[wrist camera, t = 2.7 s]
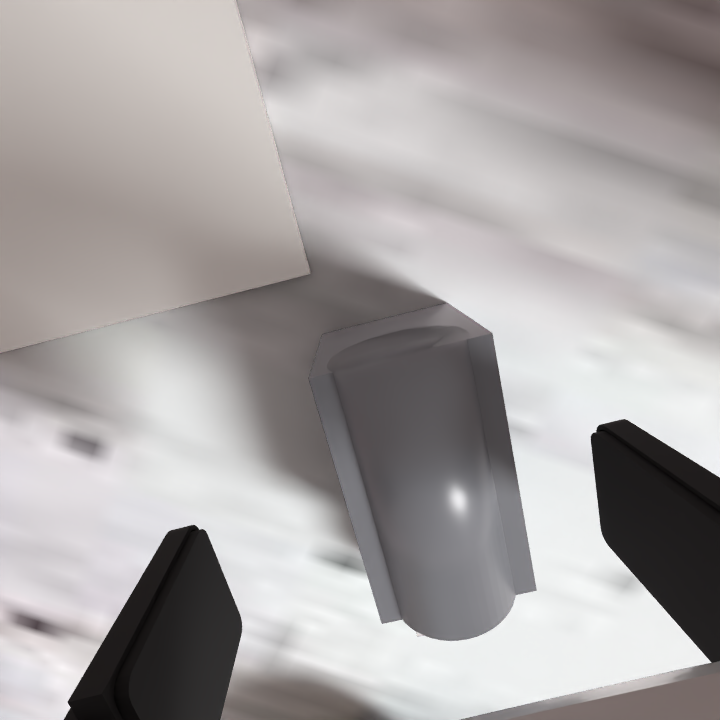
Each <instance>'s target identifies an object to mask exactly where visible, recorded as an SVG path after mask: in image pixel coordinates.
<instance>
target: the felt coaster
mask: <svg viewBox="0 0 720 720" xmlns="http://www.w3.org/2000/svg"><path fill="white" fill-rule="evenodd" d="M310 273H311V272H310V268H309V264H308V261H307V257H306V253H305V250H304V246H303V242H302V239H301V235H300V231H299V228H298V224H297V221H296V217H295V213H294V210H293V206H292V202H291V199H290V195H289V191H288V188H287V184H286V180H285V177H284V173H283V170H282V166H281V162H280V159H279V155H278V151H277V148H276V144H275V140H274V137H273V133H272V129H271V126H270V122H269V118H268V115H267V111H266V108H265V104H264V100H263V97H262V93H261V89H260V86H259V82H258V78H257V75H256V71H255V67H254V64H253V60H252V57H251V53H250V49H249V46H248V42H247V38H246V35H245V31H244V27H243V24H242V20H241V16H240V13H239V9H238V5H237V2H236V0H0V353H3V352H7V351H11V350H15V349H19V348H23V347H26V346H30V345H34V344H38V343H42V342H46V341H50V340H54V339H58V338H62V337H66V336H70V335H73V334H77V333H81V332H85V331H89V330H93V329H97V328H101V327H105V326H109V325H113V324H117V323H121V322H124V321H128V320H132V319H136V318H140V317H144V316H148V315H152V314H156V313H160V312H164V311H168V310H171V309H175V308H179V307H183V306H187V305H191V304H195V303H199V302H203V301H207V300H211V299H215V298H219V297H222V296H226V295H230V294H234V293H238V292H242V291H246V290H250V289H254V288H258V287H262V286H266V285H269V284H273V283H277V282H281V281H285V280H289V279H293V278H297V277H301V276H305V275H309V274H310Z"/></svg>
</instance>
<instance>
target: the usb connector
mask: <svg viewBox="0 0 720 720" xmlns="http://www.w3.org/2000/svg"><path fill="white" fill-rule="evenodd" d="M309 382H310V385H311V388H312V392H313V395H314V398H315V402H316V405H317V408H318V412H319V415H320V418H321V422H322V425H323V428H324V432H325V435H326V439H327V442H328V445H329V449H330V452H331V455H332V459H333V462H334V465H335V469H336V472H337V475H338V479H339V482H340V485H341V489H342V492H343V495H344V499H345V502H346V505H347V509H348V512H349V515H350V519H351V522H352V526H353V529H354V532H355V536H356V539H357V542H358V546H359V549H360V552H361V556H362V559H363V562H364V566H365V569H366V572H367V576H368V579H369V582H370V586H371V589H372V592H373V596H374V599H375V602H376V606H377V609H378V613H379V616H380V619H381V623H382V624H383V623H388V622H393V621H397V620H403V621H404V622H405V623H406V624H407V625H408V626H409V627H410V628H412V629H413V630H415V631H416V634H417V637H419V636H427V637H430V638H434V639H438V640H447V641H458V640H465V639H470V638H474V637H477V636H479V635H482V634H484V633H486V632H488V631H490V630H491V629H493V628H494V627H496V626H497V625H498V624H499V623H500V622H501V621H502V620H503V619H504V618H505V617H506V616H507V614H508V613H509V612H510V610H511V608H512V606H513V603H514V600H515V595H518V594H523V593H527V592H532V591H537V590H536V584H535V579H534V573H533V567H532V561H531V555H530V550H529V544H528V538H527V532H526V526H525V521H524V515H523V509H522V503H521V497H520V491H519V486H518V480H517V474H516V468H515V462H514V457H513V451H512V445H511V439H510V433H509V428H508V422H507V416H506V410H505V404H504V398H503V393H502V387H501V381H500V375H499V369H498V364H497V358H496V352H495V346H494V340H493V335H492V333H491V332H490V331H488V330H487V329H485V328H484V327H483V326H481V325H480V324H478V323H477V322H475V321H474V320H472V319H471V318H469V317H468V316H466V315H465V314H463V313H462V312H460V311H459V310H457V309H456V308H454V307H453V306H451V305H450V304H448V303H444V304H440V305H436V306H432V307H428V308H424V309H420V310H416V311H412V312H408V313H404V314H400V315H396V316H392V317H388V318H384V319H380V320H376V321H373V322H369V323H365V324H361V325H357V326H353V327H349V328H345V329H341V330H337V331H333V332H329V333H325V334H322V337H321V340H320V343H319V346H318V350H317V353H316V356H315V359H314V362H313V366H312V369H311V372H310V375H309Z"/></svg>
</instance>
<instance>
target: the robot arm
mask: <svg viewBox="0 0 720 720" xmlns="http://www.w3.org/2000/svg"><path fill="white" fill-rule="evenodd" d="M591 445H592V454H593V463H594V472H595V481H596V490H597V499H598V508H599V516H600V525H601V532H602V535H603V537H604V539H605V541H606V543H607V544H608V546H609V547H610V548H611V549H612V550H613V551H614V553H615V554H616V555H617V556H618V557H619V558H620V559H621V560H622V562H623V563H624V564H625V565H626V566H627V567H628V568H629V570H630V571H631V572H632V573H633V574H634V575H635V576H636V577H637V579H638V580H639V581H640V582H641V583H642V584H643V585H644V587H645V588H646V589H647V590H648V591H649V592H650V593H651V594H652V596H653V597H654V598H655V599H656V600H657V601H658V602H659V603H660V605H661V606H662V607H663V608H664V609H665V610H666V611H667V613H668V614H669V615H670V616H671V617H672V618H673V619H674V620H675V622H676V623H677V624H678V625H679V626H680V627H681V628H682V630H683V631H684V632H685V633H686V634H687V635H688V636H689V637H690V639H691V640H692V641H693V642H694V643H695V644H696V645H697V647H698V648H699V649H700V650H701V651H702V652H703V653H704V654H705V656H706V657H707V658H708V659H709V660H710V661H711V662H712V663H709V664H704V665H699V666H694V667H689V668H685V669H680V670H676V671H671V672H667V673H662V674H658V675H653V676H649V677H645V678H640V679H636V680H631V681H627V682H622V683H618V684H614V685H609V686H605V687H600V688H596V689H591V690H587V691H583V692H578V693H574V694H569V695H565V696H561V697H556V698H552V699H547V700H543V701H538V702H534V703H530V704H525V705H521V706H517V707H513V708H508V709H504V710H500V711H495V712H491V713H487V714H482V715H478V716H474V717H469V718H465V719H461V720H720V478H719V477H718V476H716V475H715V474H713V473H711V472H710V471H708V470H707V469H705V468H703V467H702V466H700V465H699V464H697V463H695V462H694V461H692V460H690V459H689V458H687V457H686V456H684V455H682V454H681V453H679V452H678V451H676V450H674V449H673V448H671V447H670V446H668V445H666V444H665V443H663V442H662V441H660V440H658V439H657V438H655V437H654V436H652V435H650V434H649V433H647V432H645V431H644V430H642V429H641V428H639V427H637V426H636V425H634V424H633V423H631V422H629V421H628V420H625V419H623V420H618V421H614V422H610V423H606V424H602V425H599V426H598V427H597V430H596V433H593V434H592V435H591ZM241 633H242V621H241V616H240V614H239V611H238V609H237V606H236V604H235V601H234V599H233V596H232V594H231V591H230V589H229V586H228V584H227V582H226V579H225V577H224V574H223V572H222V569H221V567H220V564H219V562H218V559H217V557H216V554H215V552H214V549H213V547H212V544H211V542H210V539H209V537H208V535H207V533H206V531H205V530H203V529H201V530H199V529H198V527H197V526H195V525H191V526H187V527H183V528H179V529H175V530H171V531H169V532H168V533H167V534H166V536H165V538H164V539H163V541H162V543H161V545H160V546H159V548H158V550H157V551H156V553H155V555H154V556H153V558H152V560H151V561H150V563H149V565H148V567H147V568H146V570H145V572H144V573H143V575H142V577H141V578H140V580H139V582H138V584H137V585H136V587H135V589H134V590H133V592H132V594H131V595H130V597H129V599H128V600H127V602H126V604H125V606H124V607H123V609H122V611H121V612H120V614H119V616H118V617H117V619H116V621H115V623H114V624H113V626H112V628H111V629H110V631H109V633H108V634H107V636H106V638H105V640H104V641H103V643H102V645H101V646H100V648H99V650H98V651H97V653H96V655H95V656H94V658H93V660H92V662H91V663H90V665H89V667H88V668H87V670H86V672H85V673H84V675H83V677H82V679H81V680H80V682H79V684H78V685H77V687H76V689H75V690H74V692H73V694H72V696H71V697H70V699H69V701H68V704H69V705H70V707H71V708H70V710H69V712H68V713H67V715H66V717H65V719H64V720H220V718H221V714H222V710H223V706H224V702H225V698H226V694H227V690H228V686H229V682H230V678H231V674H232V670H233V666H234V662H235V658H236V654H237V650H238V646H239V642H240V638H241Z"/></svg>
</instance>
